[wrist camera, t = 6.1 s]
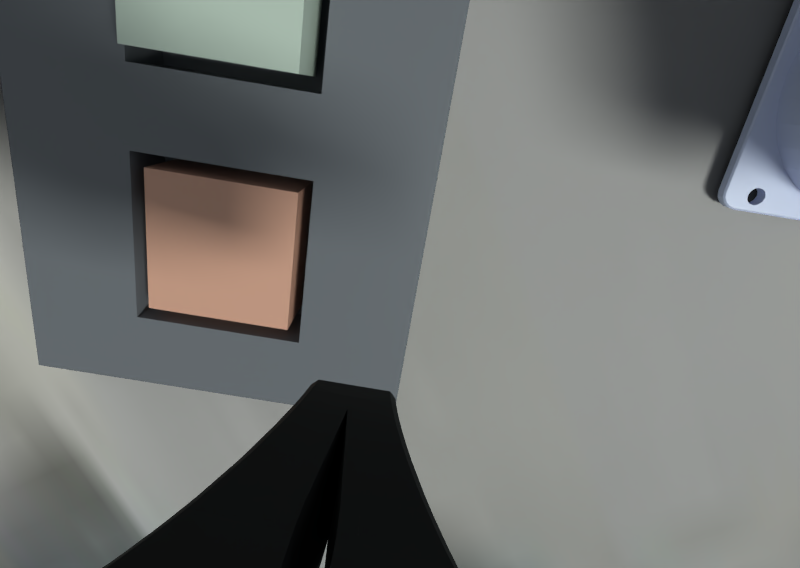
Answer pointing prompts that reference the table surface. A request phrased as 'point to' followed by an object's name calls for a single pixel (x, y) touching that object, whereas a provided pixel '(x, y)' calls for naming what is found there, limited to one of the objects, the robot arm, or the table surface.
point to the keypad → (236, 148)
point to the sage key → (227, 30)
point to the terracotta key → (226, 242)
